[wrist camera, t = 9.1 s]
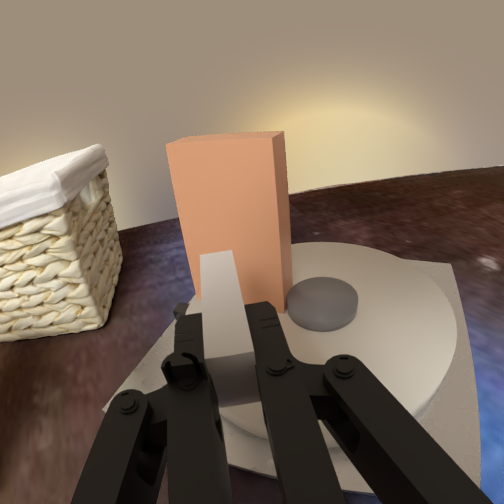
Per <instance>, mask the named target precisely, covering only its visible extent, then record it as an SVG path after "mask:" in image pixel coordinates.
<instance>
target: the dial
mask: <svg viewBox="0 0 504 504" xmlns="http://www.w3.org/2000/svg"><path fill="white" fill-rule="evenodd" d="M166 149H167V155H168V161H169V167H170V172H171V178H172V183H173V188H174V194H175V199H176V204H177V209H178V214H179V219H180V224H181V229H182V233H183V238H184V243H185V247H186V252H187V256H188V261H189V265H190V270H191V274H192V278H193V283H194V287H195V291H196V295H195V296H194V297H193V299H192V301H191V303H190V304H189V306H188V308H187V311H186V314H185V315H188V314H195V313H202V302H201V276H200V255H203V254H209V253H216V252H222V251H228V250H232V253H233V257H234V262H235V267H236V271H237V276H238V281H239V285H240V290H241V294H242V299H243V303H244V305H246V304H252V303H258V302H263V301H268V302H269V303H270V304H272V305H273V306H274V307H275V308H276V311H277V314H278V318H279V320H280V323H281V326H282V329H283V332H284V335H285V337H286V340H287V343H288V346H289V349H290V352H291V353H292V355H293V356H294V357H295V358H296V359H297V360H299V361H301V362H304V363H307V364H321V365H325V363H326V361H327V360H328V359H330V358H331V357H333V356H336V355H340V354H348V355H351V356H355V357H356V358H358V359H359V360H360V361H362V363H363V364H364V365H365V366H366V367H367V368H368V369H369V370H370V371H371V372H372V373H373V374H374V375H375V376H376V378H377V379H378V380H379V381H380V382H381V383H382V384H383V385H384V386H385V387H386V388H387V389H388V390H389V391H390V393H391V394H392V395H393V396H394V397H395V398H396V399H397V400H398V401H399V402H400V403H401V404H402V405H403V406H404V408H405V409H406V410H407V411H408V412H409V413H410V414H411V415H412V416H413V417H414V416H415V415H416V414H417V413H419V412H420V411H421V410H422V409H423V408H424V407H425V406H426V405H427V403H428V402H429V401H430V400H431V399H432V397H433V396H434V395H435V393H436V392H437V390H438V388H439V386H440V384H441V383H442V381H443V379H444V377H445V375H446V372H447V370H448V368H449V366H450V364H451V361H452V358H453V355H454V352H455V348H456V341H457V326H456V320H455V316H454V312H453V309H452V307H451V305H450V303H449V301H448V299H447V297H446V296H445V294H444V293H443V291H442V290H441V289H440V288H439V286H438V285H437V284H436V283H435V282H434V281H433V280H432V279H431V278H430V277H429V276H427V275H426V274H425V273H424V272H423V271H421V270H420V269H418V268H417V267H415V266H414V265H412V264H410V263H408V262H407V261H405V260H403V259H401V258H398V257H396V256H394V255H392V254H389V253H386V252H383V251H380V250H377V249H373V248H369V247H365V246H360V245H354V244H346V243H335V242H309V243H297V244H291V232H290V214H289V197H288V182H287V166H286V152H285V140H284V131H271V132H246V133H227V134H213V135H201V136H190V137H184V138H181V139H179V140H176V141H173V142H171V143H168V144H166ZM219 413H220V414H222V415H223V416H224V417H225V418H227V419H228V420H229V421H231V422H232V423H234V424H235V425H237V426H238V427H240V428H242V429H244V430H246V431H248V432H250V433H252V434H254V435H257V436H259V437H261V438H264V439H268V434H267V430H266V425H265V424H264V417H263V410H262V404H261V402H255V403H249V404H243V405H237V406H231V407H224V408H220V407H219ZM318 422H319V425H320V428H321V431H322V434H323V437H324V440H325V443H326V445H327V448H331V447H340V446H339V445H338V444H337V442H336V441H335V439H334V438H333V437H332V435H331V434H330V433H329V431H328V430H327V428H326V427H325V426H324V424H323V423H322V421H321V420H318ZM268 440H269V439H268Z"/></svg>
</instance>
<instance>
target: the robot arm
mask: <svg viewBox="0 0 504 504" xmlns="http://www.w3.org/2000/svg"><path fill="white" fill-rule="evenodd" d="M200 276H201V302H202V313H195V314H188V315H182V316H180V317H179V319H178V320H177V322H176V324H175V333H174V334H175V336H174V352H173V353H171V354H170V355H168V356H167V357H166V358H165V359H164V360H163V361H162V364H161V370H162V372H163V374H164V377H165V379H166V381H167V384H166V385H164V386H163V387H162V388H160V389H158V390H155V391H153V392H150V393H147V394H144V393H142V392H141V391H139V390H136V389H127V390H124V391H121V392H119V393H118V394H117V395H115V396H114V398H113V399H112V401H111V403H110V405H109V407H108V409H107V412H106V414H105V417H104V419H103V421H102V424H101V426H100V428H99V431H98V433H97V436H96V438H95V441H94V443H93V446H92V448H91V451H90V453H89V456H88V458H87V461H86V463H85V466H84V468H83V471H82V474H81V476H80V479H79V482H78V484H77V487H76V490H75V493H74V495H73V498H72V501H71V504H156V502H157V498H158V494H159V490H160V486H161V482H162V478H163V474H164V470H165V467H166V463H167V466H168V497H169V504H234V502H233V495H232V489H231V482H230V476H229V469H228V462H227V455H226V448H225V440H224V432H223V425H222V419H221V417H220V413H219V407H220V408H224V407H231V406H237V405H243V404H249V403H255V402H261V404H262V410H263V417H264V424H265V425H266V430H267V434H268V439H269V443H270V448H271V452H272V457H273V461H274V465H275V470H276V474H277V478H278V483H279V487H280V491H281V495H282V500H283V504H346V501H345V498H344V495H343V492H342V489H341V486H340V483H339V480H338V477H337V475H336V472H335V469H334V466H333V463H332V460H331V457H330V454H329V451H328V448H327V445H326V443H325V440H324V437H323V434H322V431H321V428H320V425H319V422H318V420H321V421H322V423H323V424H324V426H325V427H326V428H327V430H328V431H329V433H330V434H331V435H332V437H333V438H334V439H335V441H336V442H337V444H338V445H339V446H340V448H341V449H342V450H343V452H344V453H345V455H346V456H347V457H348V459H349V460H350V461H351V463H352V464H353V465H354V467H355V468H356V469H357V471H358V472H359V474H360V475H361V476H362V478H363V479H364V480H365V482H366V483H367V484H368V486H369V487H370V488H371V489H372V491H373V492H374V493H375V495H376V496H377V497H378V499H379V500H380V501H381V503H382V504H493V503H492V502H491V500H490V499H489V498H488V497H487V496H486V495H485V494H484V493H483V492H482V491H481V490H480V488H479V487H478V486H477V485H476V484H475V483H474V482H473V481H472V480H471V479H470V478H469V477H468V475H467V474H466V473H465V472H464V471H463V470H462V469H461V468H460V467H459V466H458V465H457V464H456V462H455V461H454V460H453V459H452V458H451V457H450V456H449V455H448V454H447V453H446V452H445V451H444V449H443V448H442V447H441V446H440V445H439V444H438V443H437V442H436V441H435V440H434V439H433V438H432V437H431V435H430V434H429V433H428V432H427V431H426V430H425V429H424V428H423V427H422V426H421V425H420V424H419V423H418V421H417V420H416V419H415V418H414V417H413V416H412V415H411V414H410V413H409V412H408V411H407V410H406V409H405V408H404V406H403V405H402V404H401V403H400V402H399V401H398V400H397V399H396V398H395V397H394V396H393V395H392V394H391V393H390V391H389V390H388V389H387V388H386V387H385V386H384V385H383V384H382V383H381V382H380V381H379V380H378V379H377V378H376V376H375V375H374V374H373V373H372V372H371V371H370V370H369V369H368V368H367V367H366V366H365V365H364V364H363V363H362V361H360V360H359V359H358V358H356V357H355V356H351V355H348V354H340V355H336V356H333V357H331V358H330V359H328V360H327V361H326V363H325V365H321V364H307V363H304V362H301V361H299V360H297V359H296V358H295V357H294V356H293V355H292V353H291V352H290V349H289V346H288V343H287V340H286V337H285V335H284V332H283V329H282V326H281V323H280V320H279V318H278V314H277V311H276V308H275V307H274V306H273V305H272V304H270V303H269V302H268V301H263V302H258V303H252V304H246V305H244V303H243V299H242V294H241V290H240V285H239V281H238V276H237V271H236V267H235V262H234V257H233V253H232V250H228V251H222V252H216V253H209V254H203V255H200Z"/></svg>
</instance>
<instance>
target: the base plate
mask: <svg viewBox="0 0 504 504" xmlns="http://www.w3.org/2000/svg"><path fill="white" fill-rule="evenodd" d="M403 260H405V261H407V262H408V263H410V264H412V265H414V266H415V267H417V268H418V269H420V270H421V271H423V272H424V273H425V274H426V275H427V276H429V277H430V278H431V279H432V280H433V281H434V282H435V283H436V284H437V285H438V286H439V288H440V289H441V290H442V291H443V293H444V294H445V296H446V297H447V299H448V301H449V303H450V305H451V307H452V309H453V312H454V316H455V320H456V326H457V341H456V348H455V352H454V355H453V358H452V361H451V364H450V366H449V368H448V370H447V372H446V375H445V377H444V379H443V381H442V383H441V384H440V386H439V388H438V390H437V392H436V393H435V395H434V396H433V397H432V399H431V400H430V401H429V402H428V403H427V405H426V406H425V407H424V408H423V409H422V410H421V411H420V412H419V413H417V414H416V415H415V416H414V418H415V419H416V420H417V421H418V423H419V424H420V425H421V426H422V427H423V428H424V429H425V430H426V431H427V432H428V433H429V434H430V435H431V437H432V438H433V439H434V440H435V441H436V442H437V443H438V444H439V445H440V446H441V447H442V448H443V449H444V451H445V452H446V453H447V454H448V455H449V456H450V457H451V458H452V459H453V460H454V461H455V462H456V464H457V465H458V466H459V467H460V468H461V469H462V470H463V471H464V472H465V473H466V474H467V475H468V477H469V478H470V479H471V480H472V481H473V482H474V483H475V484H476V485H477V486H478V487H479V488H480V483H481V441H480V421H479V408H478V398H477V388H476V380H475V373H474V366H473V359H472V353H471V347H470V342H469V337H468V331H467V326H466V322H465V317H464V313H463V308H462V304H461V300H460V296H459V292H458V288H457V284H456V280H455V277H454V273H453V270H452V266H451V264H446V263H436V262H426V261H416V260H406V259H403ZM195 295H196V294H195ZM195 295H194V296H195ZM194 296H193V297H194ZM192 299H193V298H192ZM192 299H191V300H190V301H189V303H188V304H186V303H179V304H178V305H177V307H176V308H175V309H174V311H173V312H174V315H175V320H174V321H173V322H172V323H171V325H170V326H169V327H168V328H167V329H166V331H165V332H164V333H163V334H162V336H161V337H160V338H159V339H158V341H157V342H156V343H155V344H154V346H153V347H152V348H151V349H150V351H149V352H148V353H147V354H146V355H145V357H144V358H143V359H142V360H141V362H140V363H139V364H138V365H137V367H136V368H135V369H134V370H133V372H132V373H131V374H130V375H129V377H128V378H127V379H126V380H125V382H124V383H123V384H122V385H121V387H120V388H119V389H118V390H117V392H116V393H115V394H114V396H115V395H117V394H118V393H119V392H121V391H124V390H127V389H136V390H139V391H141V392H142V393H144V394H147V393H150V392H153V391H155V390H158V389H160V388H162V387H163V386H164V385H166V384H167V381H166V379H165V377H164V374H163V372H162V370H161V364H162V361H163V360H164V359H165V358H166V357H167V356H168V355H170V354H171V353H173V352H174V336H175V334H174V333H175V324H176V322H177V320H178V319H179V317H180V316H182V315H185V314H186V311H187V308H188V306H189V304H190V303H191V301H192ZM114 396H113V397H112V398H111V399H110V401H109V402H108V403H107V404H106V406H105V407H104V408H103V409H102V410H103V412H104V413H105V414H106V412H107V409H108V407H109V405H110V403H111V401H112V399H113V398H114ZM220 417H221V419H222V425H223V432H224V440H225V448H226V455H227V462H228V466H230V467H233V468H237V469H240V470H243V471H247V472H250V473H254V474H257V475H261V476H265V477H269V478H273V479H277V480H278V478H277V474H276V470H275V465H274V461H273V457H272V452H271V448H270V443H269V440H268V439H264V438H261V437H259V436H257V435H254V434H252V433H250V432H248V431H246V430H244V429H242V428H240V427H238V426H237V425H235V424H234V423H232V422H231V421H229V420H228V419H227V418H225V417H224V416H223V415H222V414H220ZM328 451H329V454H330V457H331V460H332V463H333V466H334V469H335V472H336V475H337V477H338V480H339V483H340V486H341V489H342V492H345V493H353V494H361V495H371V496H376V495H375V493H374V492H373V491H372V489H371V488H370V487H369V486H368V484H367V483H366V482H365V480H364V479H363V478H362V476H361V475H360V474H359V472H358V471H357V469H356V468H355V467H354V465H353V464H352V463H351V461H350V460H349V459H348V457H347V456H346V455H345V453H344V452H343V450H342V449H341V448H340V447H331V448H328Z"/></svg>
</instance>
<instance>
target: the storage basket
mask: <svg viewBox="0 0 504 504" xmlns="http://www.w3.org/2000/svg"><path fill="white" fill-rule="evenodd" d="M108 165H109V162H108V158H107V156H106V154H105V150H104V148H103V146H102V145H100V144H95V145H92V146H90V147H88V148H86V149H82V150H79V151H74V152H71V153H67V154H63V155H60V156H57V157H54V158H51V159H48V160H45V161H42V162H39V163H37V164H34V165H32V166H28V167H26V168H23V169H21V170H18V171H15V172H12V173H10V174H7V175H4V176H2V177H0V342H6V341H7V342H9V341H11V342H13V341H16V340H22V339H36V338H40V337H44V336H57V335H58V334H67V333H78V332H80V331H85V330H92V329H97V328H99V327H102V326H103V325H104V323H105V322H106V321H107V318H108V313H109V310H110V307H111V303H112V298H113V296H114V292H115V289H114V287H115V286H116V285H117V282H118V274H119V272H120V269H121V263H122V260H123V257H122V250H121V248H120V242H119V240H118V239H119V235H118V233H117V225H116V222H115V218H114V215H113V207H112V205H111V203H110V202H111V198H110V196H109V184H108V179H107V173H106V170H105V168H106V167H107V166H108Z"/></svg>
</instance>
